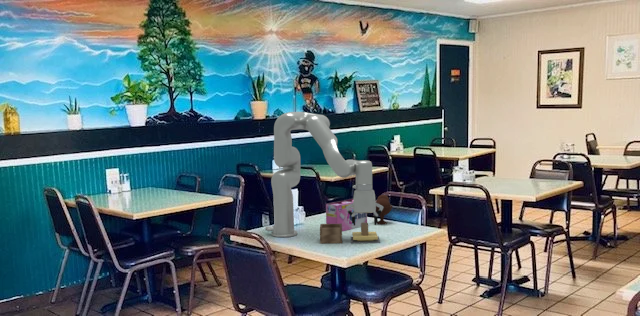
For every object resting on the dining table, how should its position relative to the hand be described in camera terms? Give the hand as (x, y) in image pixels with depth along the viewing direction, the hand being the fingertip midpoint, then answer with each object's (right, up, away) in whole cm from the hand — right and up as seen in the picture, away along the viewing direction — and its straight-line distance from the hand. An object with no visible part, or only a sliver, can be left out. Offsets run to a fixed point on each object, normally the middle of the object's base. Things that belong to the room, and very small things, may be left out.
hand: (364, 224), depth 269 cm
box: (-15, -8, +1) cm, 17 cm away
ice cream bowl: (+12, -4, +38) cm, 40 cm away
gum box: (-7, -5, +29) cm, 31 cm away
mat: (0, -7, +1) cm, 7 cm away
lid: (0, -6, +1) cm, 6 cm away
